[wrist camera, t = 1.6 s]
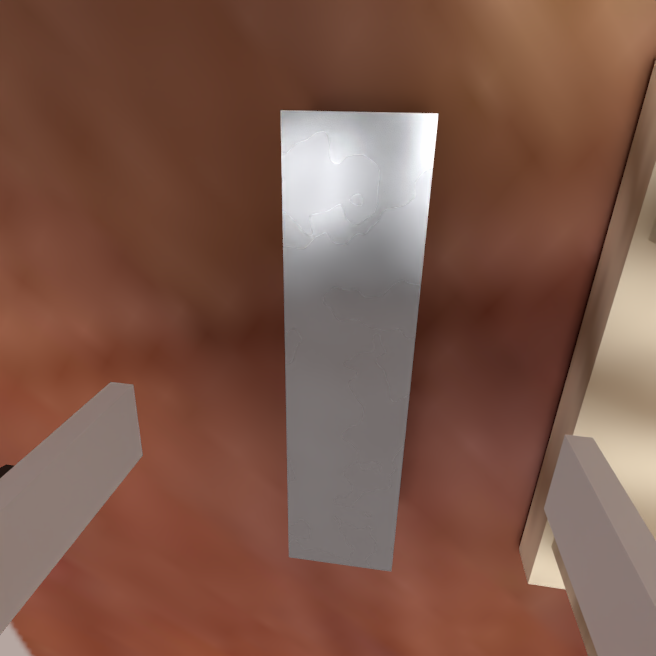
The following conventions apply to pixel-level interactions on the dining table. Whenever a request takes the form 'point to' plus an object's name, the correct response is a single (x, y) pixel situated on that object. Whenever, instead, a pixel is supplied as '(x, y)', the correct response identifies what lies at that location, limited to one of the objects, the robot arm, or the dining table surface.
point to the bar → (350, 322)
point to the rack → (611, 365)
